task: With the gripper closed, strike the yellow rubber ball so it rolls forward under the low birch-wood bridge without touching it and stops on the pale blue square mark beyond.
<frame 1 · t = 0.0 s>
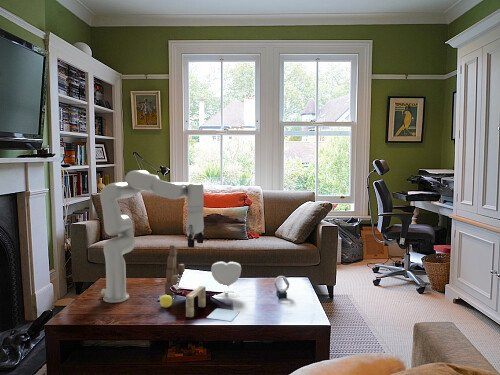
hand: (195, 245, 190), 31 cm above the table, tool pointing down, fingers open, 9 cm apart
wooden toy: (175, 290, 220), on the table
bridge: (196, 311, 190), on the table
heart sculpture: (226, 296, 211), on the table
ball: (166, 301, 194), on the table
watch: (281, 297, 210), on the table
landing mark: (223, 314, 185), on the table
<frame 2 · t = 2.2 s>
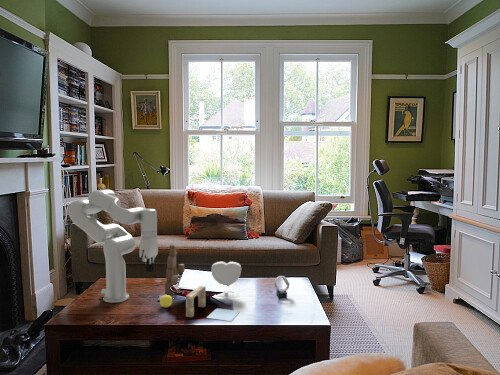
hand: (149, 271, 196), 17 cm above the table, tool pointing down, fingers closed
nothing on the table moved.
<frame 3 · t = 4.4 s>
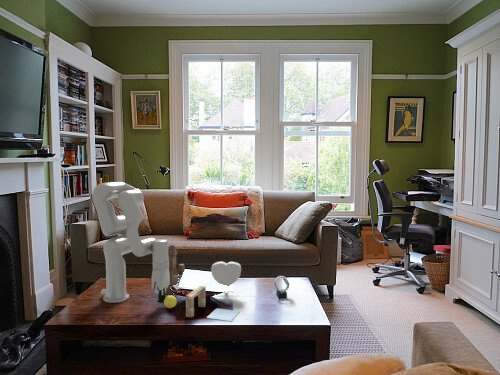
hand: (162, 302, 195), 2 cm above the table, tool pointing down, fingers closed
ball: (170, 301, 194), on the table
everything else where it was.
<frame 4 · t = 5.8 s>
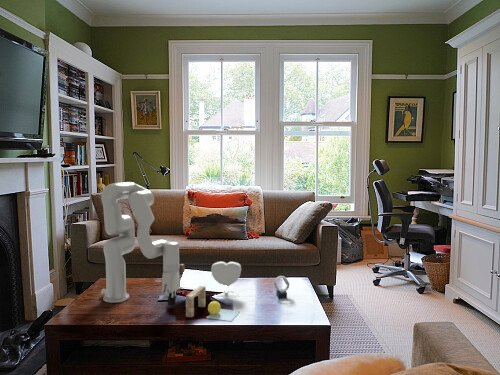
hand: (171, 304, 193), 2 cm above the table, tool pointing down, fingers closed
ball: (214, 307, 186), on the table
everything else where it was.
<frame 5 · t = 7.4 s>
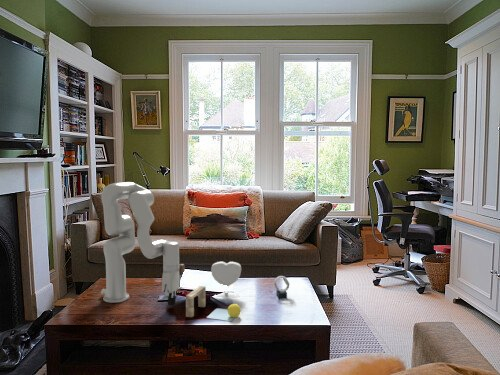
hand: (171, 304, 193), 2 cm above the table, tool pointing down, fingers closed
ball: (234, 310, 182), on the table
everything else where it was.
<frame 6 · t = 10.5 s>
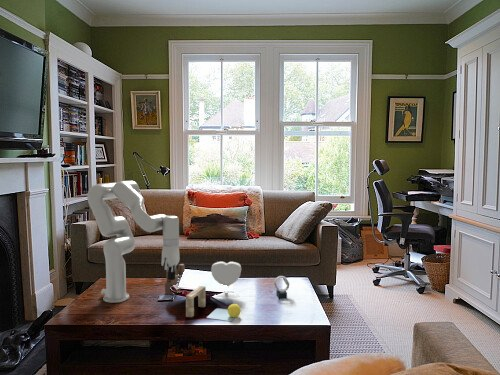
hand: (171, 279, 193), 14 cm above the table, tool pointing down, fingers closed
nothing on the table moved.
at the end: ball 5.6 cm from the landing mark (horizontally); ball never touched bridge; ball at rest at the end (0.0 cm/s) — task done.
